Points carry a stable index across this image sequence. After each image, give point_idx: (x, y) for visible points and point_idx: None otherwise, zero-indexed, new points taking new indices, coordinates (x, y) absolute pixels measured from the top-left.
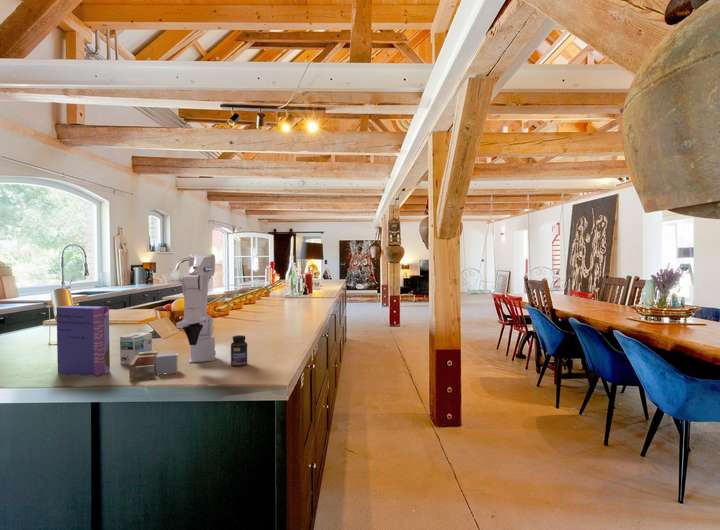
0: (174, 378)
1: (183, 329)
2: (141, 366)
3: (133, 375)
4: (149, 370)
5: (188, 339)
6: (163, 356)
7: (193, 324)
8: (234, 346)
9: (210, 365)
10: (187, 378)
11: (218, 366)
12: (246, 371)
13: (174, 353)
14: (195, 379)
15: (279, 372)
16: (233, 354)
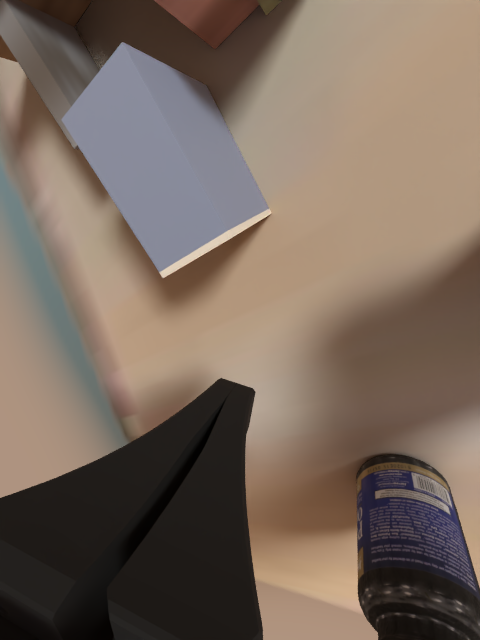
0: (145, 276)
1: (22, 493)
2: (25, 56)
3: (15, 61)
4: None
5: (185, 410)
6: (101, 180)
7: None
8: (361, 586)
9: (401, 357)
10: (161, 330)
11: (373, 401)
12: (289, 501)
13: (205, 216)
14: (160, 364)
15: (286, 570)
16: (361, 526)
